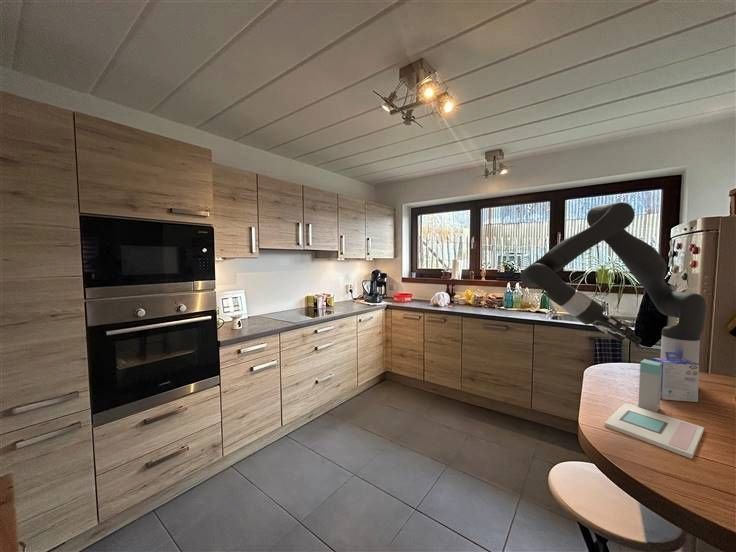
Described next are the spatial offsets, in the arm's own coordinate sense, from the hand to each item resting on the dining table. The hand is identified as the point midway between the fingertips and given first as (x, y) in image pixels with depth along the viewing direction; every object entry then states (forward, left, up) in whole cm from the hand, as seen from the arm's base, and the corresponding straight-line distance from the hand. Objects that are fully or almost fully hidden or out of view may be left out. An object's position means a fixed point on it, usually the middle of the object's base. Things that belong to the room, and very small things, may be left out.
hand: (631, 340), depth 89 cm
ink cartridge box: (-18, +7, -20) cm, 28 cm away
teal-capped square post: (-3, +4, -20) cm, 21 cm away
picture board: (+11, +8, -20) cm, 24 cm away
